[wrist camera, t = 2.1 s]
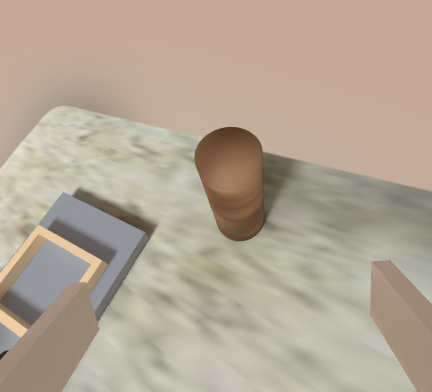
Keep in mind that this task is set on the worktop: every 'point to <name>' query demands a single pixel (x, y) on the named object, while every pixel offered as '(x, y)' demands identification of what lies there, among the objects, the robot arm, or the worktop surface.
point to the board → (65, 263)
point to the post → (233, 180)
